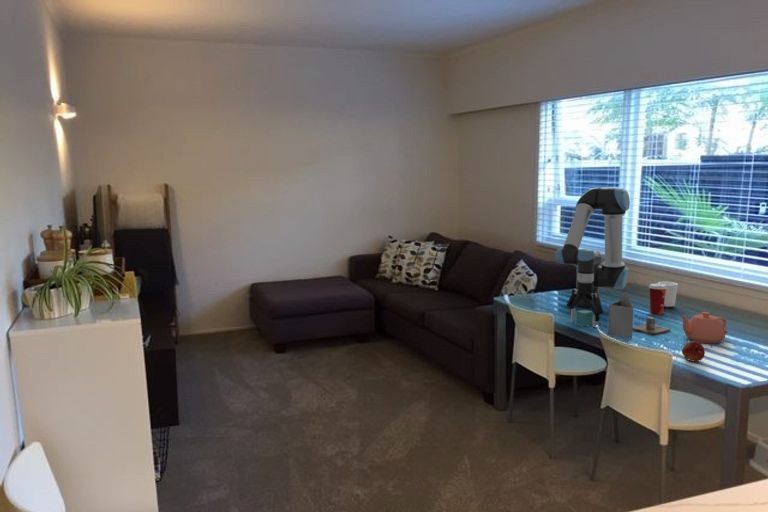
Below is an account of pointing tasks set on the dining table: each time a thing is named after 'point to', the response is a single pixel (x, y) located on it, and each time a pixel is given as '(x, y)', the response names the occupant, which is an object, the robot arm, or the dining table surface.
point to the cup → (670, 293)
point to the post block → (650, 328)
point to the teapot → (705, 328)
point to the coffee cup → (657, 298)
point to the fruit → (693, 351)
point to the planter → (621, 317)
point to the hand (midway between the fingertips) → (583, 324)
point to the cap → (584, 317)
